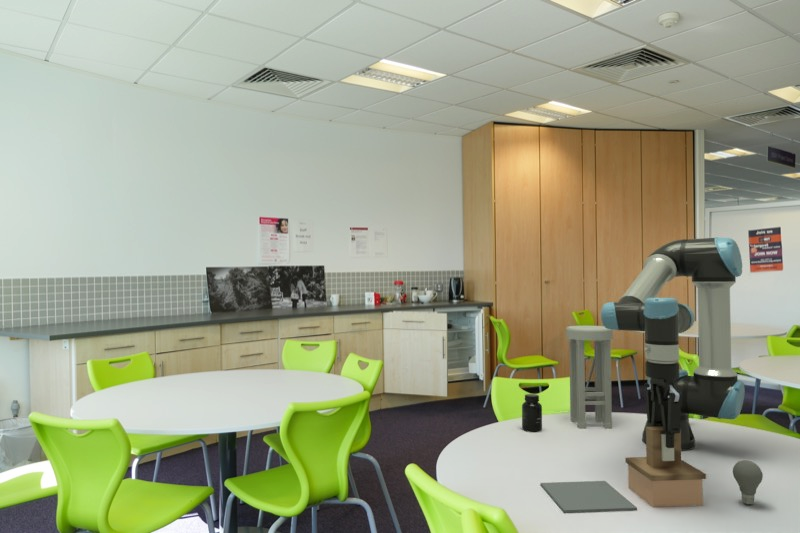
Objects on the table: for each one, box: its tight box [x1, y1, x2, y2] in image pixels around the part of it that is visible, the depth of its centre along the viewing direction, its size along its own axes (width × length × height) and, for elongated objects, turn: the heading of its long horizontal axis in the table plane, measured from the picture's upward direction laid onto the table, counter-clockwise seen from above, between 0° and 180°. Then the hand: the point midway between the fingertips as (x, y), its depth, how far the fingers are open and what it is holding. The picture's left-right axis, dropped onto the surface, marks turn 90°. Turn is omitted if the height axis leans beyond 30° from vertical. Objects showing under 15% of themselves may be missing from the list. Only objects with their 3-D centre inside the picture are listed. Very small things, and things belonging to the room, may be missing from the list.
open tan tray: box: [627, 464, 704, 508], centre depth 136 cm, size 12×12×6 cm
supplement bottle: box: [521, 393, 543, 433], centre depth 196 cm, size 7×7×12 cm
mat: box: [540, 480, 638, 514], centre depth 136 cm, size 17×17×1 cm
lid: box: [625, 426, 707, 481], centre depth 137 cm, size 13×13×10 cm
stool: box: [565, 325, 614, 430], centre depth 203 cm, size 16×16×35 cm
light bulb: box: [732, 459, 764, 505], centre depth 132 cm, size 6×6×10 cm
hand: (663, 457), depth 137 cm, fingers closed on lid, 3 cm apart
